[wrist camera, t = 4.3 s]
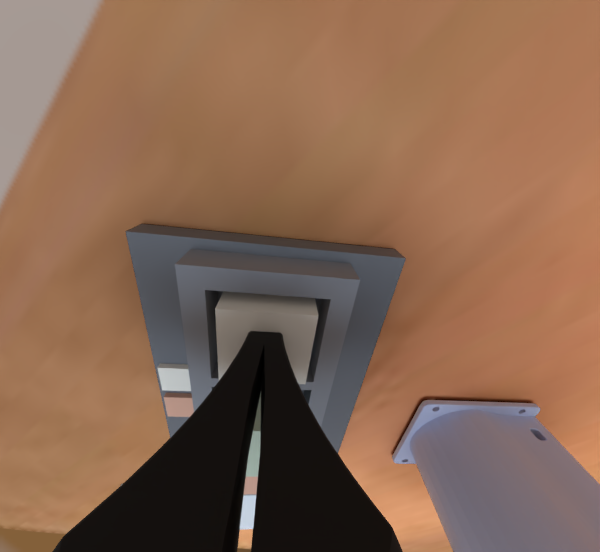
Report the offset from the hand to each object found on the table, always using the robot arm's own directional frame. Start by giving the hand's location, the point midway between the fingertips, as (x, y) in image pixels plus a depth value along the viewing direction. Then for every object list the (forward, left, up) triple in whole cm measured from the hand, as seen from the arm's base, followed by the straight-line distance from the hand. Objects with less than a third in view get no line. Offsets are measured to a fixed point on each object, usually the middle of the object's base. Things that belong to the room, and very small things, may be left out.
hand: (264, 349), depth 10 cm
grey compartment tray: (0, +6, -3) cm, 6 cm away
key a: (0, 0, -2) cm, 2 cm away
